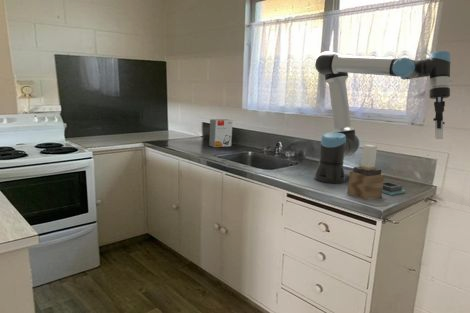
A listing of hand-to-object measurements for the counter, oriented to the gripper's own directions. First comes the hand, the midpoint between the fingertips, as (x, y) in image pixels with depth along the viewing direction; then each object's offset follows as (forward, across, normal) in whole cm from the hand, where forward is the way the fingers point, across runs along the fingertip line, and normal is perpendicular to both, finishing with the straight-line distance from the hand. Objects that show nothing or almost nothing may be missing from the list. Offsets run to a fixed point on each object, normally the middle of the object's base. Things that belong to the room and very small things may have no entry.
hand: (439, 138), depth 146 cm
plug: (+16, -14, +27) cm, 34 cm away
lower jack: (+24, +2, +20) cm, 31 cm away
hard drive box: (+1, +43, +142) cm, 148 cm away
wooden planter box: (+25, -12, +28) cm, 39 cm away
